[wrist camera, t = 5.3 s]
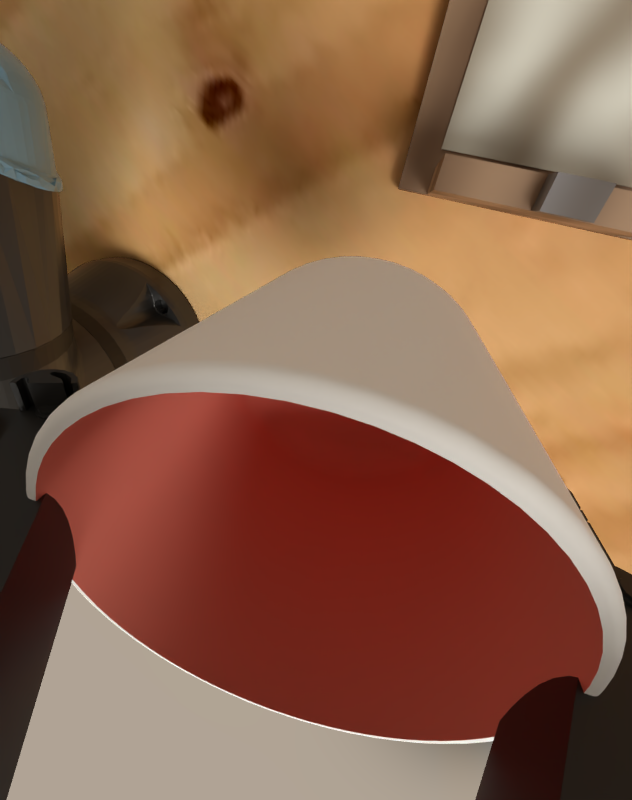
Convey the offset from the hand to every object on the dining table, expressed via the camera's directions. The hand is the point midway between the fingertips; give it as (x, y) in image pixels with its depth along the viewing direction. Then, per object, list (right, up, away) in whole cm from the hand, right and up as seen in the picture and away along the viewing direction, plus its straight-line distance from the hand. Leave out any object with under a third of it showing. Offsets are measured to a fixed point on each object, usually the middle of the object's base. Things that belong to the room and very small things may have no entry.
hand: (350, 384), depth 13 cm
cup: (0, 0, +1) cm, 1 cm away
